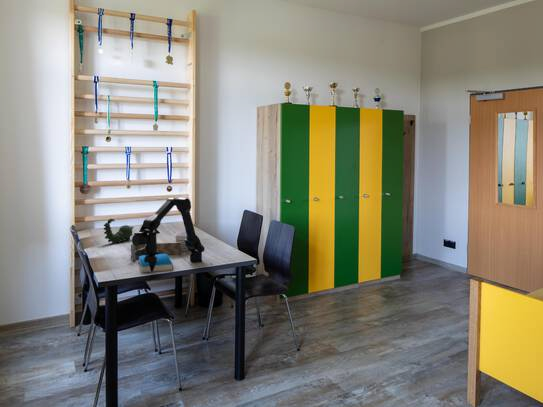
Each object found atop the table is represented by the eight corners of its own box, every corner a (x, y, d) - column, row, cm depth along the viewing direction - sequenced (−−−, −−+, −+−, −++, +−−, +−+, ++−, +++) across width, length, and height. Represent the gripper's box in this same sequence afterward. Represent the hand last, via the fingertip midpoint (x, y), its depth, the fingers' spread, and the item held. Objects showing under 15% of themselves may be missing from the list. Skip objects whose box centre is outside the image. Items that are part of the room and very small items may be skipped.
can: (196, 250, 301) (196, 232, 299) (186, 254, 291) (186, 235, 289) (182, 248, 306) (181, 231, 304) (171, 252, 295) (171, 234, 294)
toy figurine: (112, 247, 316) (139, 238, 337) (109, 221, 312) (136, 213, 333) (102, 246, 321) (130, 237, 342) (99, 220, 317) (127, 212, 338)
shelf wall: (181, 254, 289) (180, 241, 288) (181, 255, 287) (180, 242, 286) (131, 256, 284) (131, 243, 283) (131, 257, 282) (131, 244, 281)
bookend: (137, 257, 282) (136, 241, 281) (135, 261, 272) (135, 244, 271) (133, 257, 282) (133, 241, 281) (132, 261, 272) (131, 244, 271)
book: (141, 266, 248) (138, 255, 271) (141, 273, 248) (138, 262, 272) (173, 263, 254) (167, 252, 277) (173, 270, 254) (167, 259, 278)
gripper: (137, 239, 251) (138, 267, 253) (133, 247, 233) (134, 277, 234) (158, 239, 253) (158, 266, 255) (156, 246, 235) (157, 275, 237)
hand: (152, 271), depth 245 cm, fingers closed
